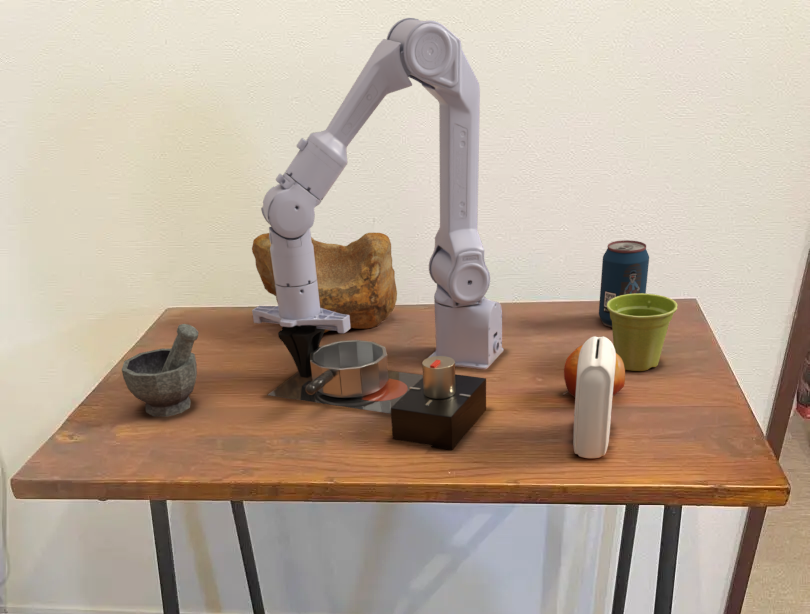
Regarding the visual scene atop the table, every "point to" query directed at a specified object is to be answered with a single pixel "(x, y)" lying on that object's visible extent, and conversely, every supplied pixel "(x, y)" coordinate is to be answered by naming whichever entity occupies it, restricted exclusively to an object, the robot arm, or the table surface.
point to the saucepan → (348, 369)
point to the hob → (371, 402)
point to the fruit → (571, 373)
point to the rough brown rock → (345, 277)
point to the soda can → (622, 273)
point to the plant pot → (640, 328)
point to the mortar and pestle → (164, 375)
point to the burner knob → (439, 377)
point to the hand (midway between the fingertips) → (307, 374)
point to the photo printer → (594, 397)
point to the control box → (439, 413)
